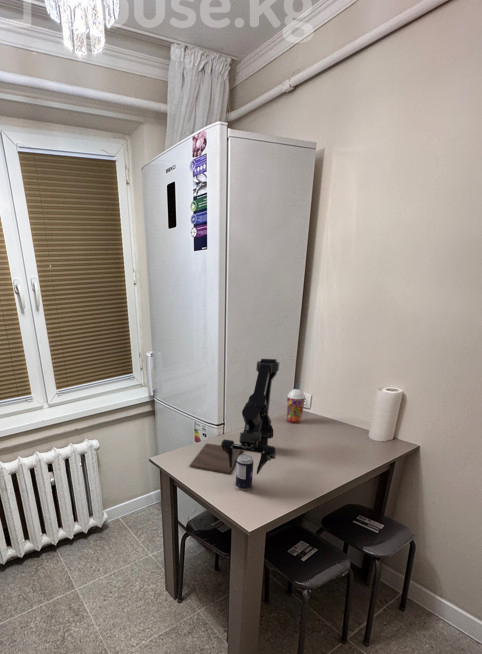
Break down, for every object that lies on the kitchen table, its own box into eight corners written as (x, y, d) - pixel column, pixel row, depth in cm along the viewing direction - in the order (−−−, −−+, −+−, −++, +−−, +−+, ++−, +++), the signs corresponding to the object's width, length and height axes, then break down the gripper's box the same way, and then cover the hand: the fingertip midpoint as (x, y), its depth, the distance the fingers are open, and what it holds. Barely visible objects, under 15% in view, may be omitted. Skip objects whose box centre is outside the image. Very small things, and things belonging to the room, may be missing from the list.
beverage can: (252, 491, 126) (254, 461, 122) (235, 490, 127) (237, 460, 123) (251, 483, 131) (253, 454, 127) (235, 482, 132) (236, 453, 128)
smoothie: (286, 424, 181) (290, 386, 174) (283, 418, 189) (287, 381, 182) (304, 424, 180) (308, 386, 173) (300, 418, 188) (304, 381, 180)
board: (206, 445, 163) (206, 443, 163) (241, 450, 156) (242, 448, 156) (190, 466, 145) (190, 464, 145) (229, 474, 138) (229, 472, 138)
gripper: (223, 418, 128) (213, 459, 123) (277, 425, 120) (270, 469, 115) (227, 431, 138) (219, 469, 132) (278, 437, 130) (271, 478, 124)
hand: (243, 471), depth 126 cm, fingers open, 9 cm apart
